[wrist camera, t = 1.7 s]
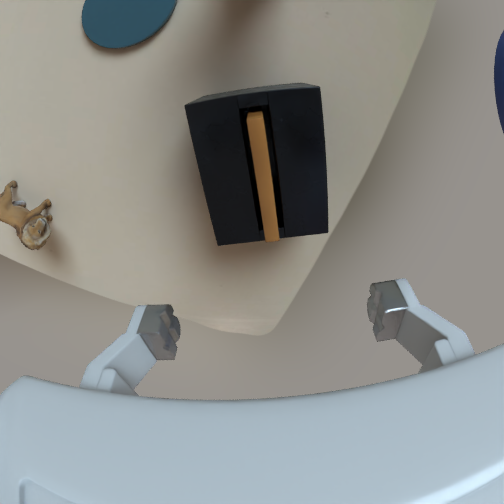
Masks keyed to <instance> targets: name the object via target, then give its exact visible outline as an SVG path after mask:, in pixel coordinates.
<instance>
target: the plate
mask: <svg viewBox="0 0 504 504" xmlns="http://www.w3.org/2000/svg"><path fill="white" fill-rule="evenodd" d="M176 3H177V0H85V3H84V6H83V10H82V25H83V29H84V31H85V33H86V35H87V36H88V37H89V39H90V40H92V41H93V42H94V43H96V44H97V45H100V46H102V47H107V48H125V47H130V46H133V45H136V44H138V43H141V42H143V41H145V40H146V39H148V38H149V37H151V36H152V35H154V34H155V33H156V32H157V31H159V30H160V29H161V28H162V27H163V26H164V24H165V23H166V22H167V21H168V19H169V18H170V16H171V15H172V13H173V11H174V9H175V6H176Z"/></svg>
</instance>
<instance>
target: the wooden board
mask: <svg viewBox="0 0 504 504" xmlns="http://www.w3.org/2000/svg"><path fill="white" fill-rule="evenodd" d="M246 121H247V127H248V133H249V139H250V145H251V151H252V158H253V164H254V170H255V176H256V183H257V189H258V196H259V202H260V209H261V215H262V222H263V228H264V235H265V242H273V241H279V232H278V223H277V215H276V207H275V199H274V191H273V184H272V176H271V168H270V161H269V154H268V147H267V140H266V133H265V126H264V119H263V114H262V108H261V106H255V107H249V109H248V115H247V120H246Z"/></svg>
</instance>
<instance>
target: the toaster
mask: <svg viewBox="0 0 504 504" xmlns="http://www.w3.org/2000/svg"><path fill="white" fill-rule="evenodd" d="M255 106H261V108H262V114H263V119H264V126H265V133H266V140H267V147H268V154H269V161H270V168H271V176H272V184H273V191H274V199H275V207H276V215H277V223H278V232H279V238H285V237H286V238H287V237H296V236H305V235H313V234H322V233H328V193H327V168H326V150H325V136H324V123H323V111H322V101H321V91H320V87H319V86H315V85H310V84H306V83H292V84H281V85H271V86H262V87H255V88H247V89H241V90H234V91H228V92H223V93H217V94H212V95H207V96H203V97H201V98H199V99H196V100H194V101H192V102H190V103H188V104H186V105H185V110H186V115H187V120H188V124H189V129H190V133H191V138H192V142H193V146H194V151H195V155H196V159H197V164H198V168H199V172H200V176H201V180H202V185H203V189H204V193H205V197H206V201H207V205H208V209H209V213H210V217H211V221H212V225H213V229H214V233H215V237H216V240H217V244H218V246H221V245H229V244H237V243H246V242H254V241H260V240H261V241H262V240H265V235H264V228H263V222H262V215H261V209H260V202H259V196H258V189H257V183H256V176H255V170H254V164H253V158H252V151H251V145H250V139H249V133H248V127H247V121H246V120H247V115H248V109H249V107H255Z"/></svg>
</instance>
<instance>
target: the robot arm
mask: <svg viewBox="0 0 504 504" xmlns="http://www.w3.org/2000/svg"><path fill="white" fill-rule="evenodd" d="M370 294H371V296H370V297H369V298H368V303H367V311H368V316H369V319H370V321H371V322H373V323H374V326H373V331H374V334H375V337H376V340H377V342H378V341H384V340H390V339H396V340H397V341H398V342H399V343H400V344H401V345H402V346H403V347H404V348H405V349H407V351H409V352H410V353H411V354H412V355H413V356H414V357H415V358H416V359H417V360H418V361H419V362H420V363H422V365H423V366H422V367H421V369H420V371H419V373H418V374H414V375H410V376H406V377H402V378H398V379H394V380H389V381H385V382H380V383H376V384H371V385H366V386H361V387H356V388H349V389H343V390H337V391H331V392H324V393H317V394H308V395H299V396H289V397H278V398H263V399H242V400H189V399H188V400H187V399H169V398H153V397H143V396H139V395H138V394H137V393H136V392H135V391H134V389H135V387H136V386H137V385H138V384H139V382H140V381H141V380H142V379H143V378H144V376H145V375H146V374H147V372H148V371H149V370H150V369H151V368H152V366H153V365H154V364H155V363H156V362H157V360H174V359H175V356H176V351H177V346H176V344H175V343H176V342H177V341H178V339H179V338H180V324H179V321H178V318H177V317H175V316H174V315H173V312H174V310H173V308H172V306H171V305H169V304H164V305H138V306H137V307H136V308H135V310H134V313H133V315H132V318H131V320H130V323H129V326H128V328H127V331H126V333H125V334H122V335H121V336H120V337H119V338H118V339H116V340H115V341H114V342H113V343H112V344H111V345H109V346H108V347H107V348H106V349H105V350H104V351H103V352H102V353H101V354H99V355H98V356H97V357H96V358H95V359H94V360H93V361H92V362H90V363H89V364H88V365H87V368H86V370H85V373H84V376H83V378H82V381H81V384H80V387H74V386H69V385H64V384H60V383H55V382H51V381H47V380H42V379H38V378H35V377H32V376H22V377H20V378H19V379H17V380H16V381H15V382H13V383H12V384H11V385H10V386H9V387H7V389H5V390H4V391H3V392H2V393H1V395H0V504H504V344H502V345H499V346H496V347H494V348H491V349H489V350H487V351H484V352H481V353H479V354H475V352H474V350H473V348H472V346H471V344H470V342H469V340H468V338H467V336H466V334H465V332H464V331H462V330H461V329H459V328H458V327H456V326H455V325H453V324H451V323H450V322H449V321H447V320H446V319H444V318H443V317H441V316H440V315H438V314H437V313H435V312H434V311H432V310H430V309H429V308H427V307H426V306H424V305H420V303H419V301H418V300H417V298H416V296H415V294H414V292H413V290H412V288H411V286H410V285H409V283H408V281H407V280H406V279H405V278H402V279H397V280H391V281H385V282H379V283H372V284H371V286H370Z"/></svg>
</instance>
